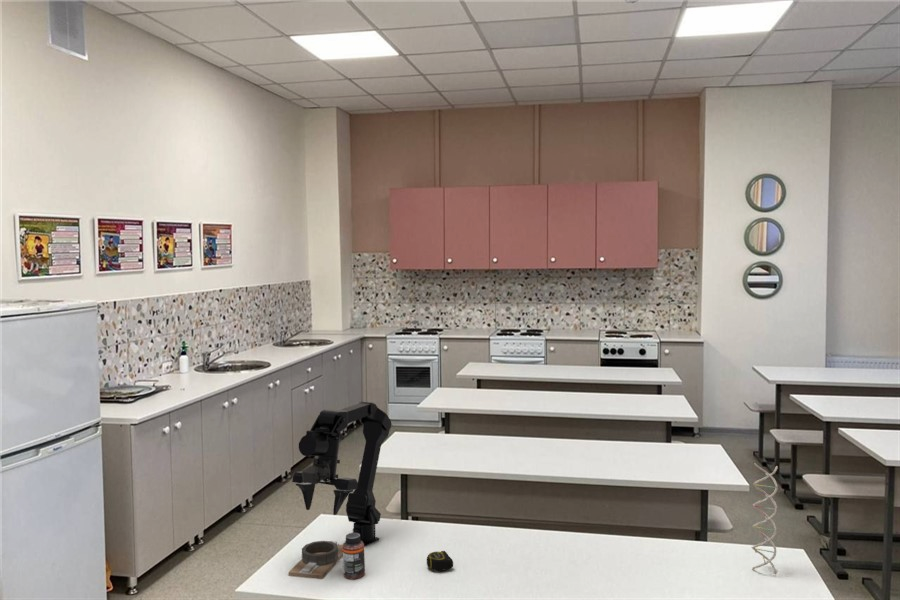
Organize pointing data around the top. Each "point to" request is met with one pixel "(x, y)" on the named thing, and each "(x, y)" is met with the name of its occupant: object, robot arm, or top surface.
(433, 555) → the tape measure
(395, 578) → the top surface
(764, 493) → the dna model
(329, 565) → the clip holder
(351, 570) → the supplement bottle
